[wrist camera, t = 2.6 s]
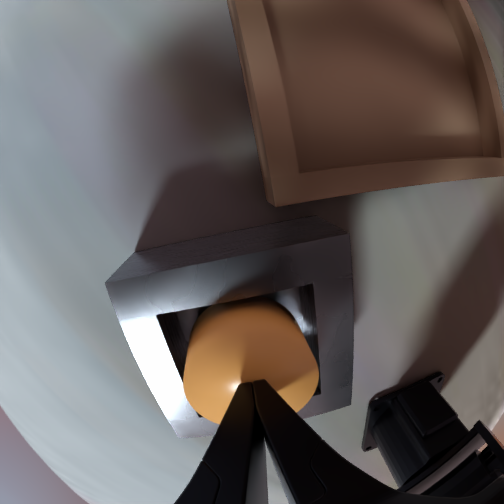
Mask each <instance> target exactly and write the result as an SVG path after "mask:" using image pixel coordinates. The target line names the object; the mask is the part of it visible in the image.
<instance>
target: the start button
mask: <svg viewBox="0 0 504 504" xmlns="http://www.w3.org/2000/svg"><path fill="white" fill-rule="evenodd" d="M260 379H265V380H266V381H267V382H268V383H269V384H270V385H271V386H272V387H273V388H274V389H275V390H276V392H277V393H278V394H279V395H280V396H281V397H282V398H283V399H284V400H285V401H286V402H287V403H288V404H289V405H290V406H291V408H292V409H293V410H294V411H295V412H296V413H297V412H298V411H299V410H300V409H302V408H303V407H304V406H305V405H306V404H307V403H308V401H309V400H310V399H311V397H312V396H313V394H314V392H315V390H316V388H317V385H318V380H319V371H318V366H317V363H316V360H315V358H314V356H313V354H312V352H311V350H310V348H309V346H308V343H307V341H306V339H305V337H304V335H303V333H302V331H301V329H300V327H299V325H298V323H297V321H296V319H295V317H294V316H293V315H292V313H291V312H290V311H289V310H288V309H287V308H286V307H284V306H283V305H281V304H280V303H278V302H276V301H274V300H272V299H269V298H266V297H261V296H254V297H249V298H244V299H239V300H234V301H229V302H224V303H219V304H213V305H211V306H210V307H209V308H207V309H206V310H205V311H204V312H203V313H202V314H201V315H200V316H199V317H198V318H197V320H196V321H195V323H194V325H193V327H192V330H191V333H190V338H189V344H188V350H187V357H186V363H185V370H184V377H183V389H184V393H185V396H186V399H187V400H188V402H189V404H190V405H191V406H192V407H193V409H194V410H195V411H196V412H198V413H199V414H200V415H201V416H203V417H204V418H206V419H208V420H210V421H212V422H214V423H217V424H220V422H221V420H222V418H223V416H224V414H225V412H226V410H227V408H228V406H229V404H230V402H231V400H232V398H233V395H234V393H235V391H236V389H237V387H238V385H239V384H240V383H245V382H253V381H255V380H260Z"/></svg>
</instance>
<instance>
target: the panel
mask: <svg viewBox="0 0 504 504" xmlns="http://www.w3.org/2000/svg"><path fill="white" fill-rule="evenodd" d="M105 285H106V288H107V291H108V294H109V296H110V299H111V302H112V304H113V307H114V310H115V312H116V315H117V317H118V320H119V322H120V325H121V327H122V329H123V332H124V334H125V336H126V339H127V341H128V343H129V345H130V348H131V350H132V352H133V354H134V356H135V359H136V361H137V363H138V365H139V367H140V369H141V371H142V373H143V375H144V377H145V379H146V381H147V383H148V385H149V387H150V389H151V391H152V393H153V394H154V396H155V398H156V400H157V402H158V404H159V405H160V407H161V409H162V411H163V412H164V414H165V416H166V418H167V419H168V421H169V423H170V424H171V426H172V428H173V429H174V431H175V433H176V434H177V436H178V437H179V438H189V437H201V436H211V435H215V433H216V431H217V429H218V427H219V425H220V424H217V423H214V422H212V421H210V420H208V419H206V418H204V417H203V416H201V415H200V414H199V413H198V412H196V411H195V410H194V409H193V407H192V406H191V405H190V404H189V402H188V400H187V399H186V396H185V393H184V389H183V377H184V370H185V363H186V357H187V350H188V344H189V338H190V333H191V330H192V327H193V325H194V323H195V321H196V320H197V318H198V317H199V316H200V315H201V314H202V313H203V312H204V311H205V310H206V309H207V308H209V307H210V306H211V305H213V304H219V303H224V302H229V301H234V300H239V299H244V298H249V297H254V296H261V297H266V298H269V299H272V300H274V301H276V302H278V303H280V304H281V305H283V306H284V307H286V308H287V309H288V310H289V311H290V312H291V313H292V315H293V316H294V317H295V319H296V321H297V323H298V325H299V327H300V329H301V331H302V333H303V335H304V337H305V339H306V341H307V343H308V346H309V348H310V350H311V352H312V354H313V356H314V358H315V360H316V363H317V366H318V371H319V380H318V385H317V388H316V390H315V392H314V394H313V396H312V397H311V399H310V400H309V401H308V403H307V404H306V405H305V406H304V407H303V408H302V409H300V410H299V411H298V412H297V414H298V415H299V416H300V417H301V418H302V419H304V418H308V417H312V416H316V415H319V414H323V413H326V412H329V411H333V410H336V409H339V408H342V407H346V406H349V405H351V397H352V379H353V348H354V310H353V279H352V260H351V245H350V233H348V232H346V231H344V230H342V229H340V228H338V227H337V226H335V225H333V224H331V223H329V222H327V221H325V220H323V219H321V218H320V217H318V216H310V217H305V218H299V219H294V220H289V221H284V222H278V223H273V224H268V225H263V226H258V227H253V228H248V229H243V230H238V231H233V232H228V233H223V234H218V235H213V236H208V237H203V238H199V239H194V240H189V241H184V242H180V243H175V244H170V245H166V246H161V247H157V248H152V249H148V250H143V251H139V252H134V253H133V254H132V255H131V256H130V257H129V258H128V259H127V260H126V261H125V262H124V263H123V264H122V265H121V266H120V267H119V268H118V269H117V271H116V272H115V273H114V274H113V275H112V276H111V277H110V278H109V279H108V280H107V281H106V282H105Z"/></svg>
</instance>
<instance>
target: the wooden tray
mask: <svg viewBox="0 0 504 504" xmlns="http://www.w3.org/2000/svg"><path fill="white" fill-rule="evenodd" d="M227 3H228V8H229V12H230V17H231V21H232V26H233V30H234V35H235V40H236V44H237V49H238V54H239V59H240V63H241V68H242V73H243V78H244V83H245V88H246V93H247V98H248V103H249V108H250V113H251V119H252V124H253V129H254V134H255V140H256V145H257V151H258V156H259V161H260V167H261V173H262V178H263V184H264V189H265V195H266V201H268V202H269V203H271V204H272V205H273V206H275V207H279V206H285V205H290V204H296V203H302V202H307V201H313V200H319V199H325V198H331V197H338V196H344V195H350V194H357V193H363V192H370V191H377V190H384V189H391V188H398V187H406V186H414V185H422V184H430V183H438V182H447V181H456V180H466V179H476V178H486V177H498V176H504V113H503V108H502V103H501V98H500V94H499V90H498V85H497V81H496V78H495V74H494V70H493V67H492V64H491V60H490V57H489V54H488V51H487V48H486V45H485V43H484V40H483V37H482V35H481V32H480V29H479V27H478V24H477V22H476V20H475V17H474V15H473V13H472V11H471V8H470V6H469V4H468V2H467V0H227Z"/></svg>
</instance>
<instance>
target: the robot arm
mask: <svg viewBox="0 0 504 504" xmlns="http://www.w3.org/2000/svg"><path fill="white" fill-rule="evenodd" d="M444 378H445V375H444V374H443V373H442V372H438V373H436V374H434V375H432V376H430V377H428V378H426V379H424V380H422V381H419V382H417V383H415V384H413V385H411V386H409V387H406V388H404V389H402V390H399V391H397V392H395V393H392V394H390V395H387V396H385V397H382V398H380V399H377V400H375V401H373V402H372V403H370V405H369V406H368V412H367V418H366V424H365V430H364V436H363V442H362V449H363V451H364V452H366V451H369V450H372V449H374V448H377V447H378V449H379V451H380V453H381V455H382V456H383V458H384V460H385V462H386V464H387V466H388V468H389V470H390V472H391V474H392V476H393V478H394V480H395V481H396V483H397V485H398V487H399V488H398V489H397V490H395V489H393V488H391V487H389V486H387V485H385V484H383V483H381V482H380V481H378V480H377V479H375V478H373V477H372V476H370V475H368V474H367V473H365V472H364V471H362V470H361V469H359V468H358V467H356V466H354V465H353V464H352V463H350V462H349V461H347V460H346V459H345V458H343V457H342V456H341V455H340V454H338V453H337V452H336V451H335V450H334V449H333V448H332V447H331V446H329V445H328V444H327V443H326V442H325V441H324V440H322V438H321V437H320V436H319V435H318V434H317V433H316V432H315V431H314V430H313V429H312V428H311V427H310V426H309V425H308V424H307V423H306V422H305V421H304V420H303V419H302V418H301V417H300V416H299V415H298V414H297V413H296V412H295V411H294V410H293V409H292V408H291V406H290V405H289V404H288V403H287V402H286V401H285V400H284V399H283V398H282V397H281V396H280V395H279V394H278V393H277V392H276V390H275V389H274V388H273V387H272V386H271V385H270V384H269V383H268V382H267V381H266V380H265V379H260V380H255V381H253V382H245V383H240V384H239V385H238V387H237V389H236V391H235V393H234V395H233V398H232V400H231V402H230V404H229V406H228V408H227V410H226V412H225V414H224V416H223V418H222V420H221V422H220V425H219V427H218V429H217V431H216V433H215V435H214V437H213V439H212V441H211V443H210V445H209V447H208V449H207V451H206V453H205V455H204V457H203V458H202V461H201V462H200V464H199V466H198V468H197V470H196V472H195V473H194V475H193V477H192V479H191V480H190V482H189V484H188V485H187V486H186V488H185V489H184V491H183V492H182V494H181V495H180V496H179V498H178V499H177V500H176V502H175V503H174V504H268V488H267V468H266V449H265V441H266V445H267V448H268V450H269V453H270V456H271V458H272V461H273V464H274V466H275V469H276V472H277V474H278V477H279V479H280V482H281V484H282V487H283V489H284V492H285V494H286V497H287V499H288V502H289V504H504V446H503V445H502V444H501V442H500V441H499V440H498V439H497V438H496V436H495V435H494V434H493V433H492V432H491V431H490V429H489V428H488V427H487V426H486V425H484V424H483V423H482V422H481V421H480V420H479V421H478V422H477V423H476V424H475V425H474V427H473V428H472V429H471V430H470V431H469V430H468V429H467V428H466V427H465V426H464V424H463V423H462V422H461V421H460V419H459V418H458V414H457V413H456V412H455V410H454V409H453V408H452V407H451V406H450V405H449V403H448V402H447V401H446V400H445V399H444V397H443V396H442V395H441V394H440V390H441V387H442V384H443V381H444ZM264 438H265V439H264ZM485 443H487V444H488V446H487V447H486V448H485V449H484V450H483V451H482V452H480V451H478V449H479V448H480V447H481V446H482V445H484V444H485Z"/></svg>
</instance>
